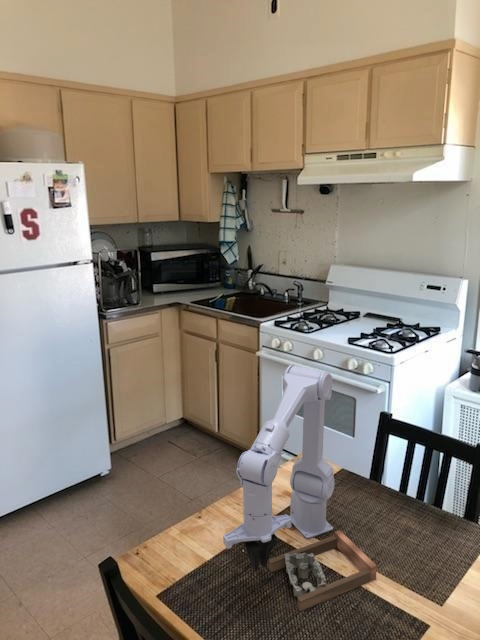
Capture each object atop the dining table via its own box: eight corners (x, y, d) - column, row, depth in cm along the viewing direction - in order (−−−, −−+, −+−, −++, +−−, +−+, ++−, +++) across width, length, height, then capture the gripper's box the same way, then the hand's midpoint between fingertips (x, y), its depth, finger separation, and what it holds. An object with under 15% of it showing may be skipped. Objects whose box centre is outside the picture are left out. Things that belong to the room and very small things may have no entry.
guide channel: (268, 568, 117) (268, 555, 116) (339, 542, 125) (339, 529, 124) (300, 611, 106) (300, 597, 105) (375, 579, 114) (376, 565, 113)
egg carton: (327, 598, 109) (328, 582, 108) (292, 602, 108) (292, 585, 107) (315, 562, 119) (316, 547, 118) (283, 565, 119) (283, 550, 117)
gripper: (233, 530, 97) (234, 590, 100) (299, 508, 103) (298, 566, 106) (218, 509, 103) (220, 567, 106) (281, 490, 109) (281, 545, 112)
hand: (258, 565), depth 107 cm, fingers closed
